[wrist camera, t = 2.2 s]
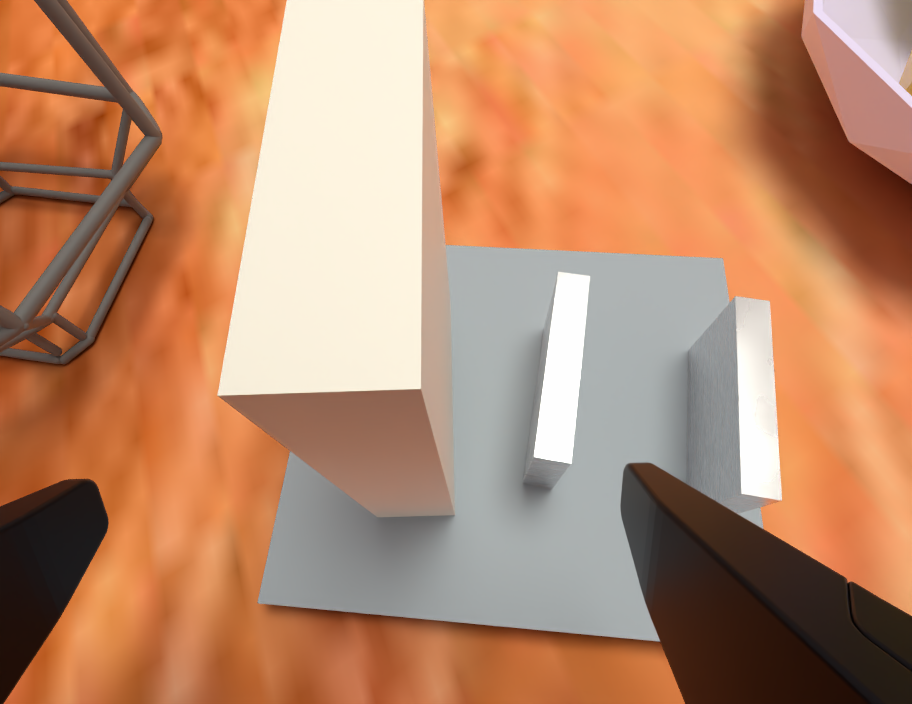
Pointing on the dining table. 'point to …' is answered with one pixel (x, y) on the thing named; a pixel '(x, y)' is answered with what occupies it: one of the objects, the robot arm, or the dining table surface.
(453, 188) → the dining table surface
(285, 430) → the cream rectangular block
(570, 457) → the hinge clip
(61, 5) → the geometric lantern
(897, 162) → the fruit bowl
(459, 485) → the board
